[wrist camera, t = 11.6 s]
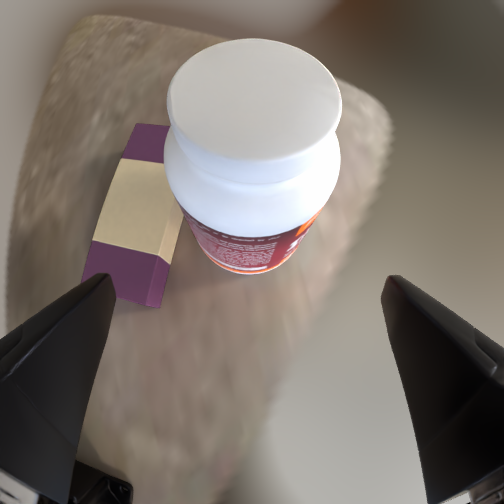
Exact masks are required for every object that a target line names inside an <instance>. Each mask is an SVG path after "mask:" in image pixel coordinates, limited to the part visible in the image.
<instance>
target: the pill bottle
mask: <svg viewBox="0 0 504 504" xmlns="http://www.w3.org/2000/svg"><path fill="white" fill-rule="evenodd" d="M341 110H342V100H341V94H340V91H339V88H338V85H337V83H336V81H335V79H334V78H333V76H332V75H331V73H330V72H329V71H328V70H327V68H325V66H324V65H322V64H321V63H320V62H319V61H318V60H316V58H314V57H313V56H311V55H310V54H308V53H306V52H304V51H303V50H300V49H298V48H296V47H293V46H291V45H288V44H285V43H281V42H277V41H273V40H266V39H239V40H233V41H227V42H223V43H219V44H216V45H213V46H211V47H208V48H206V49H204V50H202V51H200V52H198V53H197V54H195V55H194V56H192V57H191V58H189V59H188V60H187V61H186V62H185V63H184V64H183V65H182V66H181V67H180V68H179V69H178V71H177V72H176V73H175V75H174V77H173V78H172V80H171V83H170V85H169V89H168V93H167V111H168V115H169V119H170V122H171V126H170V129H169V131H168V133H167V137H166V140H165V145H164V168H165V173H166V177H167V180H168V183H169V185H170V188H171V190H172V193H173V195H174V197H175V199H176V200H177V202H178V204H179V206H180V208H181V210H182V212H183V214H184V216H185V218H186V220H187V222H188V224H189V226H190V228H191V230H192V232H193V234H194V236H195V237H196V239H197V241H198V243H199V245H200V247H201V248H202V250H203V251H204V252H205V254H206V255H207V256H208V257H209V258H210V259H211V260H212V261H213V262H215V263H216V264H217V265H219V266H220V267H222V268H224V269H226V270H229V271H232V272H235V273H240V274H258V273H263V272H266V271H269V270H272V269H274V268H276V267H278V266H279V265H281V264H282V263H283V262H285V261H286V260H287V259H288V258H289V257H290V256H291V255H292V254H293V252H294V251H295V250H296V248H297V247H298V245H299V244H300V242H301V240H302V239H303V237H304V236H305V234H306V233H307V232H308V230H309V228H310V226H311V225H312V223H313V222H314V220H315V219H316V217H317V216H318V214H319V213H320V211H321V209H322V208H323V206H324V205H325V203H326V202H327V200H328V198H329V196H330V195H331V193H332V191H333V189H334V187H335V185H336V182H337V179H338V174H339V169H340V148H339V143H338V140H337V137H336V134H335V130H336V128H337V125H338V123H339V120H340V116H341Z"/></svg>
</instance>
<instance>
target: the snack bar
mask: <svg viewBox="0 0 504 504" xmlns="http://www.w3.org/2000/svg"><path fill="white" fill-rule="evenodd" d="M169 129H170V126H162V125H151V124H138V123H137V124H136V125H135V128H134V130H133V132H132V134H131V136H130V139H129V141H128V143H127V146H126V148H125V150H124V153H123V155H122V158H121V159H120V162H119V164H118V167H117V169H116V172H115V174H114V177H113V180H112V182H111V185H110V188H109V190H108V193H107V196H106V199H105V202H104V204H103V207H102V210H101V213H100V216H99V219H98V222H97V226H96V229H95V232H94V235H93V239H92V243H91V246H90V250H89V253H88V257H87V261H86V264H85V268H84V272H83V276H82V280H81V283H83V282H84V281H86V280H87V279H89V278H90V277H92V276H93V275H95V274H96V273H109V274H110V275H111V278H112V281H113V285H114V288H115V291H116V297H117V298H121V299H124V300H128V301H131V302H135V303H138V304H142V305H146V306H151V307H156V308H160V305H161V301H162V296H163V292H164V288H165V284H166V279H167V275H168V271H169V267H170V264H171V261H172V257H173V253H174V249H175V245H176V241H177V238H178V234H179V230H180V227H181V223H182V220H183V216H184V214H183V212H182V210H181V208H180V206H179V204H178V202H177V200H176V199H175V197H174V195H173V193H172V190H171V188H170V185H169V183H168V180H167V177H166V173H165V168H164V145H165V140H166V137H167V133H168V131H169Z"/></svg>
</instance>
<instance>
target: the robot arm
mask: <svg viewBox="0 0 504 504" xmlns="http://www.w3.org/2000/svg"><path fill="white" fill-rule="evenodd" d="M115 302H116V291H115V288H114V285H113V281H112V278H111V275H110V274H109V273H96V274H95V275H93V276H92V277H90V278H89V279H87V280H86V281H84V282H83V283H81V284H79V285H78V286H76V287H75V288H73V289H72V290H70V291H69V292H67V293H66V294H64V295H63V296H61V297H60V298H58V299H57V300H56V301H54V302H53V303H51V304H50V305H48V306H47V307H45V308H44V309H42V310H41V311H40V312H38V313H37V314H35V315H34V316H32V317H31V318H30V319H28V320H27V321H25V322H24V323H23V324H21V325H20V326H18V327H17V328H16V329H14V330H13V331H11V332H10V333H9V334H7V335H6V336H4V337H3V338H1V339H0V504H132V501H133V487H132V485H131V484H130V483H128V482H125V481H123V480H120V479H118V478H115V477H112V476H110V475H108V474H105V473H103V472H101V471H99V470H97V469H95V468H92V467H90V466H88V465H86V464H84V463H82V462H79V461H77V460H75V458H76V453H77V450H76V449H77V447H78V442H79V438H80V433H81V429H82V425H83V421H84V417H85V413H86V409H87V405H88V401H89V397H90V394H91V390H92V386H93V383H94V379H95V376H96V373H97V369H98V366H99V363H100V359H101V356H102V353H103V350H104V347H105V344H106V340H107V337H108V333H109V328H110V323H111V319H112V314H113V310H114V306H115ZM381 304H382V308H383V313H384V317H385V322H386V327H387V332H388V336H389V340H390V344H391V347H392V351H393V353H394V357H395V360H396V364H397V367H398V371H399V374H400V377H401V381H402V384H403V388H404V392H405V396H406V400H407V404H408V407H409V411H410V415H411V419H412V423H413V428H414V432H415V437H416V441H417V446H418V451H419V457H420V462H421V467H422V472H423V478H424V483H425V490H426V496H427V503H428V504H442V503H444V502H447V501H449V500H452V499H454V498H456V497H458V496H461V495H463V494H465V493H467V492H468V493H469V497H470V501H471V502H469V503H467V504H504V348H503V347H502V346H500V345H499V344H497V343H496V342H494V341H493V340H491V339H490V338H489V337H487V336H486V335H484V334H483V333H482V332H480V331H479V330H478V329H476V328H474V327H473V326H472V325H471V324H469V323H468V322H467V321H465V320H464V319H462V318H461V317H460V316H458V315H457V314H456V313H454V312H453V311H451V310H450V309H448V308H447V307H445V306H444V305H443V304H441V303H440V302H438V301H437V300H435V299H434V298H433V297H431V296H430V295H428V294H427V293H425V292H424V291H422V290H421V289H419V288H418V287H417V286H415V285H413V284H412V283H411V282H409V281H408V280H406V279H404V278H403V277H402V276H400V275H390V276H388V277H387V279H386V282H385V285H384V288H383V291H382V295H381ZM123 487H125V488H126V489H127V490H128V491H127V490H125V489H124V488H123Z"/></svg>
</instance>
